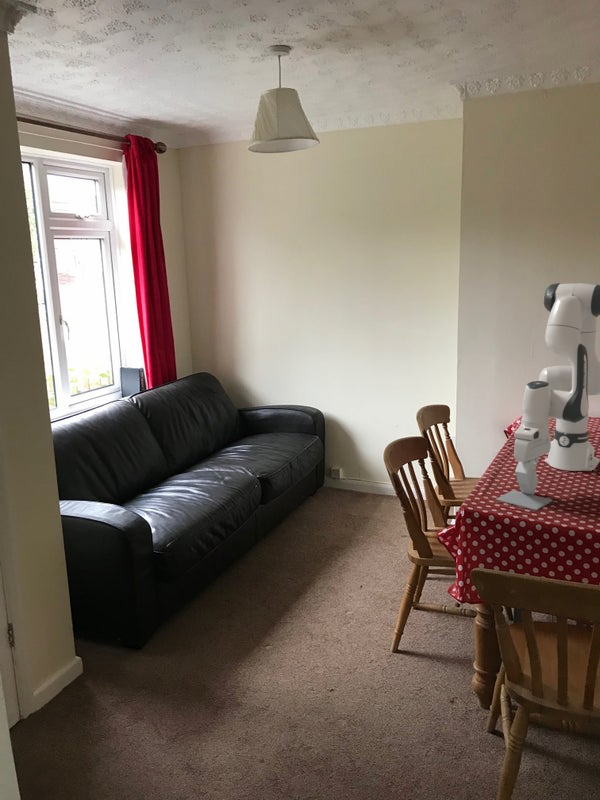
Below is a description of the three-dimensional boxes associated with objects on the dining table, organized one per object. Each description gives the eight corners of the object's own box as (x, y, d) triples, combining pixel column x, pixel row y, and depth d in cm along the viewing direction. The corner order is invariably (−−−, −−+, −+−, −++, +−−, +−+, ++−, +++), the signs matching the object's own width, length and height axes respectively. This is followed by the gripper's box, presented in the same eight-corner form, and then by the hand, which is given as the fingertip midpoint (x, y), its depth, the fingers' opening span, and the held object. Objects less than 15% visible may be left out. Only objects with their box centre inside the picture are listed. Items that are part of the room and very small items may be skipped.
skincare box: (526, 479, 230) (520, 457, 222) (538, 481, 227) (533, 459, 220) (520, 493, 227) (514, 471, 219) (533, 495, 224) (527, 473, 217)
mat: (512, 491, 230) (512, 490, 230) (552, 501, 220) (552, 499, 220) (495, 500, 221) (495, 499, 221) (535, 510, 212) (536, 509, 212)
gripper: (539, 423, 233) (536, 462, 235) (511, 433, 218) (509, 473, 221) (556, 426, 229) (554, 465, 231) (530, 436, 214) (527, 477, 216)
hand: (531, 469), depth 226 cm, fingers closed
